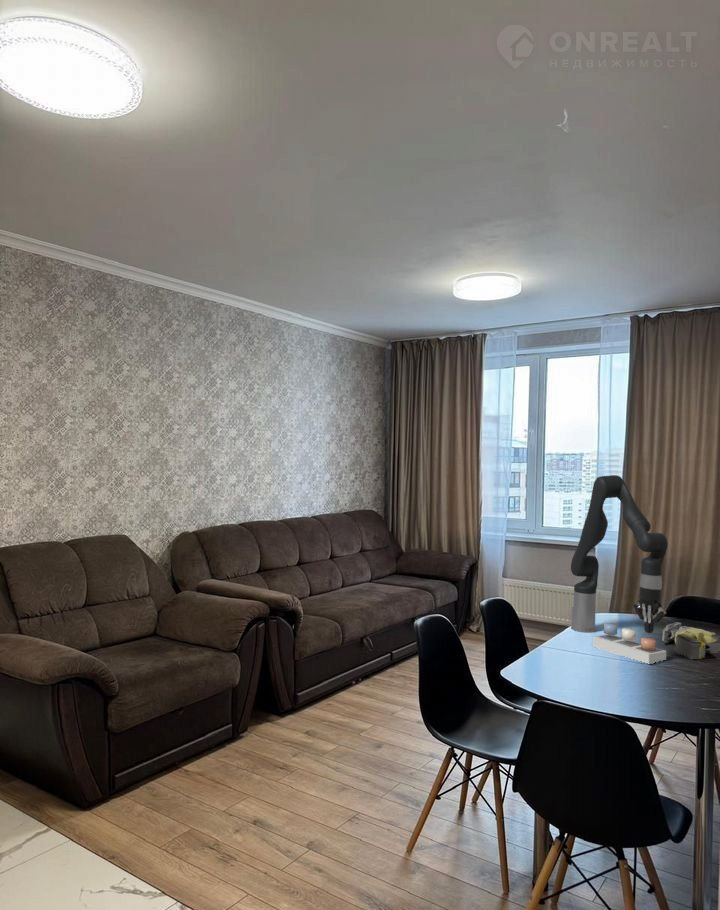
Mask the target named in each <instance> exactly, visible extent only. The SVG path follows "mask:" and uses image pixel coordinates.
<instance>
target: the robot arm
mask: <svg viewBox="0 0 720 910" xmlns="http://www.w3.org/2000/svg"><path fill="white" fill-rule="evenodd" d="M591 491H592V492H591V496H590V497H591V498H590V502H589V507H588V510H587V513H586V516H585V517H586V518H585V519H584V520H585V521H584V524H583V527H582V530H581V534H580V537H579V538H580V539H579V541H578V544H577V547H576V549H575V552H574V554H573V556H572V559H571V563H570V570H571V573H572V575H574V576H575V577H583V578H585V577H586V578H585V579H584V580H582V581H581V582H577V583H575V584H574V586H573V587H574V589H573V606H571V614H570V615H571V616H570V617H571V619H570V629H571V630H573V631H574V632H577V633H584V634H590V633H591V634H592V633H595V632H596V630H595V629H596V609H597V608H596V607H597V606H596V605H597V604H596V603H597V588H598V579H599V578H598V577H599V566H600V565H599V561H598V558H597V556H595V555H588V554H589V552H590V551H592V550H593V549H594V548H595V547H597V546H598V545H599V544H600V543H602V541H603V540H604V538H605V536H606V532H607V529H608V527H609V522H608V517H607V516H606V514H605V511H604V504H605V501H606V499H612V498H613V499H614V498H617V499H618V500H619V501H620V502H621V504H622V517H623V520H624V522H625V524H626V525H627V526H628V528H629V529H630V531H631V532H632V534H633V537H634V541H635V543H636V545H637V548H638V549H640V550H641V551H642V552H645V553H650V554H649V556H647V557H645V558H642V560H641V562H640V563H641V564H640V577H639V594H638V597H639V600H638V603H636V604H633V605H632V606H633V609H634V610H635V612H636V615H638V618H639V619H640V620H642V621H643V622H644V625H643V626H644V633H647V634H652V633H653V632H654V628H655V627H654V625H655V624H656V623H659V622H661V620H662V619H663V618H664V617H665V616H666V614H668V612H667V611H666V610H664V609H663V608H662V604H661V601H662V589H663V580H662V579H663V578H662V572H663V569H662V568H663V562H664V560H665V556H666V553H667V551H668V539H667V537H666V536H665V534H663V533H660V532H649V531H650V530H651V527H652V525H651V523H650V521H648V519H647V517H646V516H645V515H644V514H643V512H642V511H641V510H640V509H639V507H638V506H637V503H636V501H635V499H634V498H633V496H632V494H631V492H630V490H629V488H628V485H627V484H626V482H625V481H624V479H623V478H622V477H621V476H620V475H617V474H616V475H613V474H612V475H600V476H598V477H596V478H595V480H594V482H593V486H592V490H591Z"/></svg>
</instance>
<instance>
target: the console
mask: <svg viewBox="0 0 720 910" xmlns="http://www.w3.org/2000/svg"><path fill="white" fill-rule="evenodd" d="M592 639H593V640H592V647H593V648H597V649H599V650H602V651H605V652H608V653H611V654H615V655H618V656H621V657H622V656H625V657H624V658H626V657H628V658H627V659H629V658H631V659H630V660H633V659H635V660H634V661H636V660H638V661H637V662H640V661H642V662H641V663H643V662H645V663H648V664H650V663H655V662H656V663H660V662H659V661H661V662H664V661H663V660H666V661H667V650H664V649H661V648H657V647H656V650H655V651H647V650H643V649H641V642H638V641H636V640H635V641H628V640H624V639H622V636H618V635H608V634H601V635H596V636H593V638H592Z"/></svg>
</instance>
